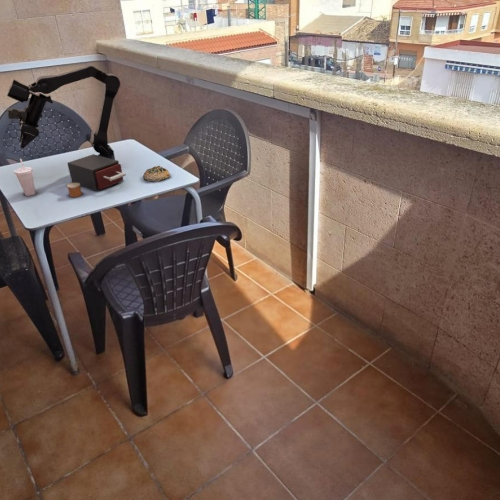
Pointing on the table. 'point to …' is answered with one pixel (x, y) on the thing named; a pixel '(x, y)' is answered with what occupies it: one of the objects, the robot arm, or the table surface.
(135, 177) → the table surface
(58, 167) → the table surface
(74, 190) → the cylinder
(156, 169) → the bread roll
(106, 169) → the drawer
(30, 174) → the smoothie
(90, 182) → the drawer box with handle
